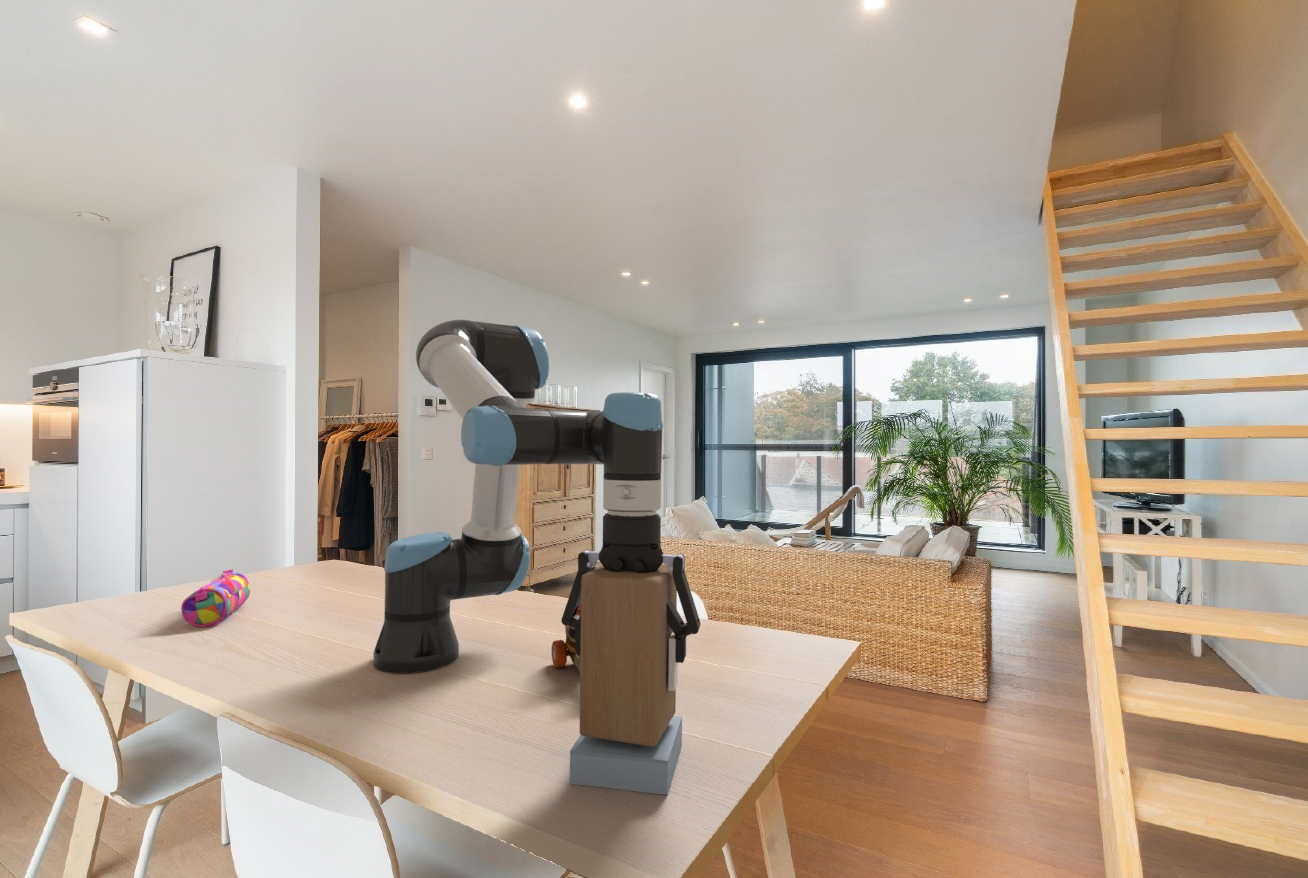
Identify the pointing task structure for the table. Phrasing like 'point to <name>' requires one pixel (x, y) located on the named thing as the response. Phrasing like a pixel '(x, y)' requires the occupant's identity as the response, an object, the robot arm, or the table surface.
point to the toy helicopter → (561, 648)
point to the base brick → (627, 762)
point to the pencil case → (216, 600)
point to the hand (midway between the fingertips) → (629, 683)
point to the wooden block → (626, 655)
